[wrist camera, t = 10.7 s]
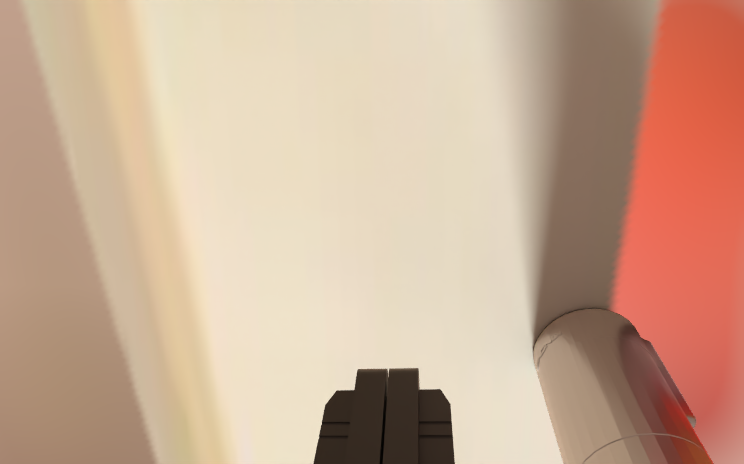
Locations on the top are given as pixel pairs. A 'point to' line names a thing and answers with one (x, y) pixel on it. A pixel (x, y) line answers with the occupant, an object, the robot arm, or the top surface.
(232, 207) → the top surface
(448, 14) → the top surface
